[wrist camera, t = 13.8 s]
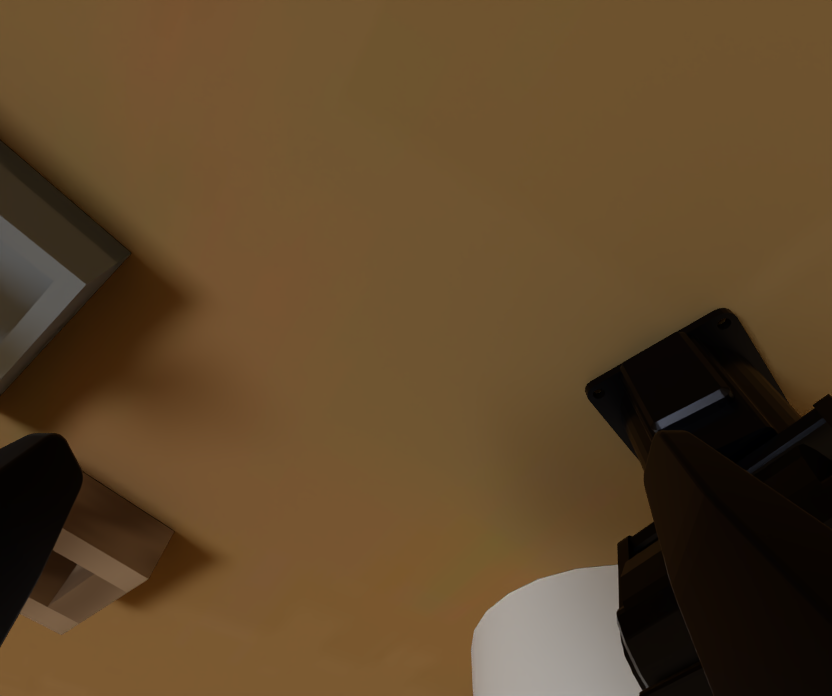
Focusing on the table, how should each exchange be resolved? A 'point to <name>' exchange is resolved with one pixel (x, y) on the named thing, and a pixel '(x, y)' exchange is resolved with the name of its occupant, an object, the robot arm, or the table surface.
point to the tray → (43, 263)
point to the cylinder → (554, 639)
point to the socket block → (95, 558)
